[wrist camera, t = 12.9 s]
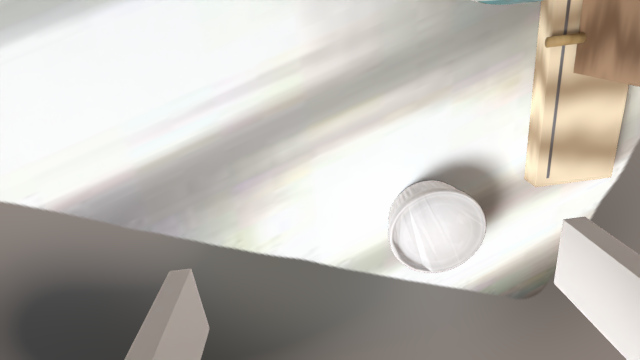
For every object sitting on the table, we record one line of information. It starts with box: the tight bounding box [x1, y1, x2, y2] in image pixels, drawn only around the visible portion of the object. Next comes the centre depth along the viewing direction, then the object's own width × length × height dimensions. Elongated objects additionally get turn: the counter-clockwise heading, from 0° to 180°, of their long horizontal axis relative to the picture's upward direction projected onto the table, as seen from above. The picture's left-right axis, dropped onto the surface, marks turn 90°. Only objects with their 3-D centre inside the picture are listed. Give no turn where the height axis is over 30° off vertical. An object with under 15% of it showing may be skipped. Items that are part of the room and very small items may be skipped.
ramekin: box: [388, 180, 486, 273], centre depth 47 cm, size 11×11×5 cm
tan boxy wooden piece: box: [545, 0, 640, 86], centre depth 34 cm, size 7×8×11 cm
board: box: [524, 0, 629, 187], centre depth 42 cm, size 24×9×3 cm, turn 7°
